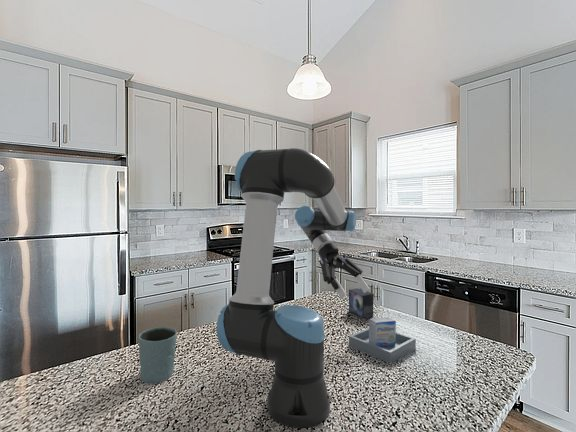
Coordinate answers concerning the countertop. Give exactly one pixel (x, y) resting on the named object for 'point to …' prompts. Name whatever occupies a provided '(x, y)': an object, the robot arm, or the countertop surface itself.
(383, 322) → the medicine box
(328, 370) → the countertop surface
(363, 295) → the small box
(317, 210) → the robot arm
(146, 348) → the teal cup
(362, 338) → the grey tray
